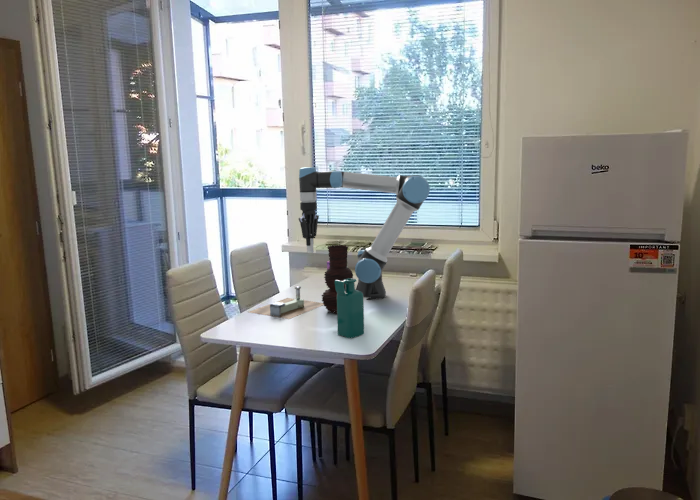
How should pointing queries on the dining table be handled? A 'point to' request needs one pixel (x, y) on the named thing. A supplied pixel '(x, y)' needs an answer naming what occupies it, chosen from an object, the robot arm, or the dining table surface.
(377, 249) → the robot arm
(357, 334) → the green bottle
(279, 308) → the block
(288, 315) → the board
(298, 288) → the peg
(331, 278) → the vase
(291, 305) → the link
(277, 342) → the dining table surface
